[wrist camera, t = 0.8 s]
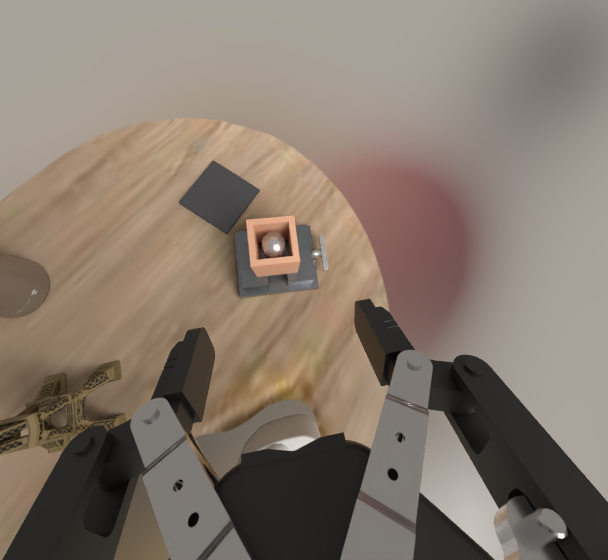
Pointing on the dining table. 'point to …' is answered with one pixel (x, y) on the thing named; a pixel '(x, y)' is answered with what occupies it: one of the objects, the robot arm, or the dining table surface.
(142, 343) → the dining table surface
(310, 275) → the vise
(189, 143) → the dining table surface
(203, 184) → the mat
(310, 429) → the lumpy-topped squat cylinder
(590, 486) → the robot arm
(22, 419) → the eiffel tower
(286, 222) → the collar
